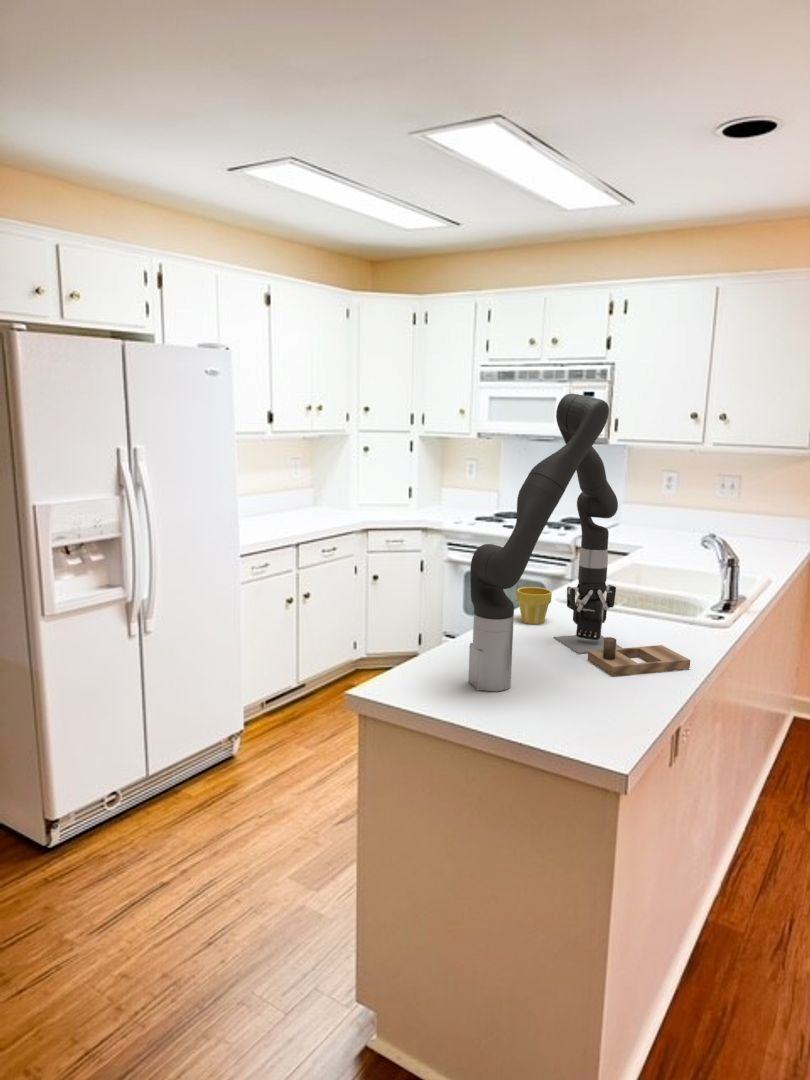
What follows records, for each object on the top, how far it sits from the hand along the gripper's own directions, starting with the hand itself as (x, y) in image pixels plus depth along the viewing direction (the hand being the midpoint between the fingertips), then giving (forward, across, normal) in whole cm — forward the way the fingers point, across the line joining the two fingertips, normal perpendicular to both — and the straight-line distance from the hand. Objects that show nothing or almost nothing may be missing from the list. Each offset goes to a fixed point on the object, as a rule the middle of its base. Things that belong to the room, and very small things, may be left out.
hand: (589, 622), depth 203 cm
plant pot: (+6, -6, +24) cm, 25 cm away
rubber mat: (+6, 0, 0) cm, 6 cm away
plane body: (+6, +4, -18) cm, 19 cm away
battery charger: (+5, 0, 0) cm, 5 cm away
